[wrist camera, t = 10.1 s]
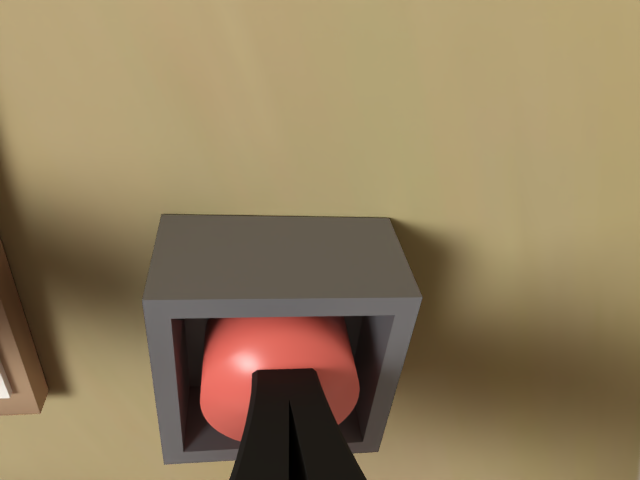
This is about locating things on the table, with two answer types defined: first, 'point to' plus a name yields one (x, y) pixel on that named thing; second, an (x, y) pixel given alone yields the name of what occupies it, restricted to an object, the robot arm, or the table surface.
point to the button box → (274, 310)
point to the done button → (273, 363)
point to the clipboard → (17, 353)
